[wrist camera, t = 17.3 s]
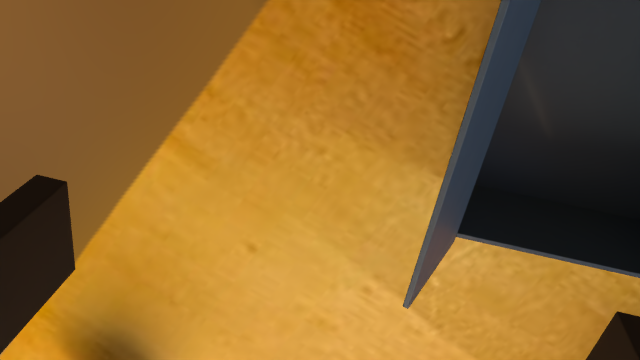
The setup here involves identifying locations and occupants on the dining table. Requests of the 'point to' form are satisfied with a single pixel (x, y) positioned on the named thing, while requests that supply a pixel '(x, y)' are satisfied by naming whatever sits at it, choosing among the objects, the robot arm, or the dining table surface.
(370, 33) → the dining table surface
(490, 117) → the flap
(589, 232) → the carton
